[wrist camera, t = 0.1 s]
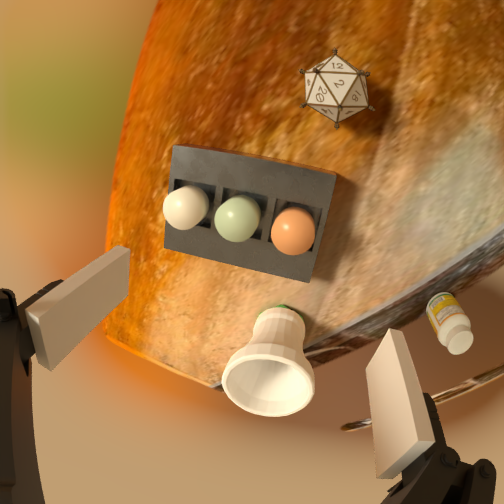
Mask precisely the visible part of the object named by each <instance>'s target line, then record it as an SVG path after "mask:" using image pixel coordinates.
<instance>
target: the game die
mask: <svg viewBox="0 0 504 504" xmlns="http://www.w3.org/2000/svg"><path fill="white" fill-rule="evenodd" d="M337 51H338V50H337V49H336V48H334V49H333V53H334V55H332V56H330V57H329V58H327V59H325V60H324V61H322V62H320V63H319V64H317V65H315V66H314V67H312V68H310V69H309V70H307V71H306V72H305V71H304V70H303V69H298V70H299V71H300V73H302V74H305V103H302V104H301V105H300V108H304V107H306V105H308V106H309V107H311V108H313V109H315V110H316V111H318V112H320V113H321V114H323V115H324V116H326V117H328V118H329V119H331V120H332V121H334V122H335V128H336V130H337V129H338V128H339V124H338V123H339V122H341V121H342V120H344V119H346V118H348V117H350V116H352V115H354V114H356V113H358V112H360V111H362V110H364V109H366V108H369V110H371V111H375V109H374V107H372V106H370V105H369V100H368V91H367V83H366V76H367V77H368V76H369V75H370V72H366V73H365V74H364V71H363V70H360V71H359V70H358V69H357V68H355V67H354V66H352V65H351V64H350V63H348V62H347V61H345V60H344V59H342V58H341V57H339V56H338V55H337V53H338V52H337Z"/></svg>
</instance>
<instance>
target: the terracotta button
mask: <svg viewBox="0 0 504 504" xmlns="http://www.w3.org/2000/svg"><path fill="white" fill-rule="evenodd" d="M271 238H272V241H273V244H274V245H275V247H276V248H277V249H278V250H279V251H281V252H283V253H285V254H288V255H299V254H302V253H304V252H306V251H307V250H308V249H309V248H310V247H311V246H312V244H313V242H314V238H315V223H314V220H313V218H312V216H311V214H310V213H309V212H308V211H306V210H305V209H303V208H300V207H288V208H286V209H284V210H282V211H281V212H280V213H279V214H278V216H277V217H276V219H275V222H274V224H273V226H272V229H271Z"/></svg>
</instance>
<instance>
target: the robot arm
mask: <svg viewBox="0 0 504 504" xmlns="http://www.w3.org/2000/svg"><path fill="white" fill-rule="evenodd" d="M129 262H130V249H128V248H125V247H122V246H119V245H117V246H116V247H114V248H113V249H111V250H109V251H108V252H106V253H105V254H103V255H102V256H100V257H99V258H97V259H96V260H94V261H93V262H91V263H90V264H88V265H87V266H85V267H84V268H82V269H81V270H79V271H78V272H76V273H75V274H73V275H72V276H71V277H69V278H68V279H66V280H65V281H63V280H61V279H60V280H58V281H54V282H51V283H50V284H48V285H47V286H45V287H44V288H43V289H41V290H39V291H38V292H37V294H34V295H32V296H31V297H30V298H28V299H27V300H25V301H24V302H23V303H22V304H20V305H19V306H17V303H16V298H15V294H14V293H13V291H11V290H9V289H3V288H2V289H0V504H45V501H44V496H43V491H42V486H41V481H40V475H39V469H38V463H37V455H36V448H35V439H34V428H33V413H32V362H31V358H30V357H31V356H33V355H34V354H35V353H36V357H37V360H38V363H39V364H41V365H42V366H44V367H45V368H47V369H48V370H50V371H52V370H53V369H54V368H55V367H56V366H57V365H58V364H59V363H60V362H61V361H62V360H63V359H64V358H65V357H66V355H68V354H69V353H70V352H71V350H72V349H74V347H75V346H76V345H77V344H78V343H79V342H80V341H81V340H82V339H83V338H84V337H85V336H86V335H87V334H89V332H91V331H92V330H93V329H94V328H95V326H97V325H98V324H99V323H100V322H101V321H102V320H103V319H104V318H105V317H106V316H107V315H108V314H109V313H110V312H111V311H112V310H113V309H114V308H115V307H116V306H117V305H118V304H119V303H120V302H121V301H123V300H124V299H125V298H126V297H127V296H128V282H129ZM366 377H367V384H368V392H369V400H370V408H371V417H372V427H373V438H374V450H375V464H376V478H381V479H393V478H395V477H396V476H397V475H398V474H400V472H402V480H401V481H400V482H398V483H397V484H396V485H394V486H393V487H392V488H390V489H389V490H388V492H390V491H391V492H390V493H389V494H388V496H387V497H386V498H385V499H384V500H383V502H382V503H381V504H493V499H494V491H495V484H496V469H495V467H494V465H493V464H492V463H491V462H490V461H489V460H487V459H480V460H478V461H477V462H476V463H475V464H474V465H471V464H467V463H464V462H461V461H460V457H459V455H458V453H457V452H456V451H455V450H454V449H452V448H450V447H448V446H447V445H446V441H445V437H444V434H443V430H442V426H441V423H440V421H439V416H438V413H437V409H436V406H435V402H434V401H433V399H432V398H431V397H430V395H429V394H428V393H423V392H422V390H421V387H420V383H419V380H418V377H417V374H416V370H415V368H414V364H413V361H412V358H411V355H410V352H409V350H408V347H407V344H406V341H405V338H404V335H403V332H402V331H398V330H394V329H390V328H389V329H388V331H387V333H386V335H385V337H384V338H383V340H382V342H381V344H380V346H379V347H378V349H377V351H376V352H375V354H374V356H373V357H372V359H371V361H370V362H369V364H368V366H367V367H366Z"/></svg>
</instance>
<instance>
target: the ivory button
mask: <svg viewBox="0 0 504 504" xmlns="http://www.w3.org/2000/svg"><path fill="white" fill-rule="evenodd" d="M209 206H210V204H209V199H208V196H207V195H206V193H205V192H204V191H203V190H202V189H201V188H199V187H197V186H194V185H187V186H184V187H182V188H180V189H177V190H175V191H173V192H171V193H170V194H169V195H168V196H167V197H166V198H165V201H164V204H163V213H164V216H165V218H166V220H167V221H168V223H169V224H170V225H171V226H173V227H174V228H176V229H179V230H188V229H190V228H192V227H194V226H195V225H196V224H198V223H199V222H200V221H201V220H202V219H204V218H205V217H206V215H207V214H208V211H209Z"/></svg>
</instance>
